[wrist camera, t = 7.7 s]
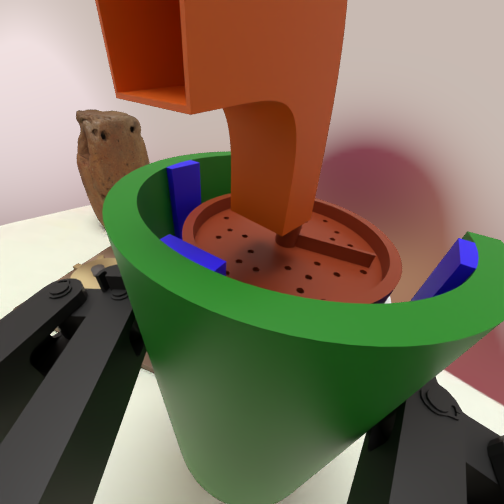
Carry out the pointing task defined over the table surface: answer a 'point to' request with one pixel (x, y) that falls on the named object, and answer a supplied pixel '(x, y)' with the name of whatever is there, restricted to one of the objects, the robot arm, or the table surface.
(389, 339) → the motor
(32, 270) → the table surface
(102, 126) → the block
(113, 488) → the table surface
